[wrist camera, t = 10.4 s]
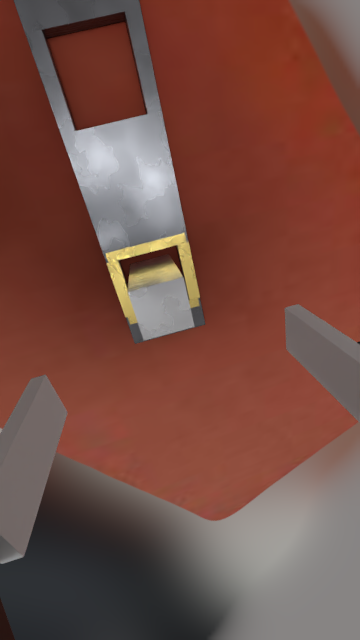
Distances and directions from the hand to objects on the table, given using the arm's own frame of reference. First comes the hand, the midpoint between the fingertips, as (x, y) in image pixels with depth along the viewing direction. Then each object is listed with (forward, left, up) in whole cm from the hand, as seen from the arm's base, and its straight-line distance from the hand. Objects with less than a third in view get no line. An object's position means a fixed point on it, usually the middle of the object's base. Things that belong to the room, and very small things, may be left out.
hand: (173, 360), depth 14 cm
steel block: (0, 0, -18) cm, 18 cm away
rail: (-9, 0, -18) cm, 20 cm away
